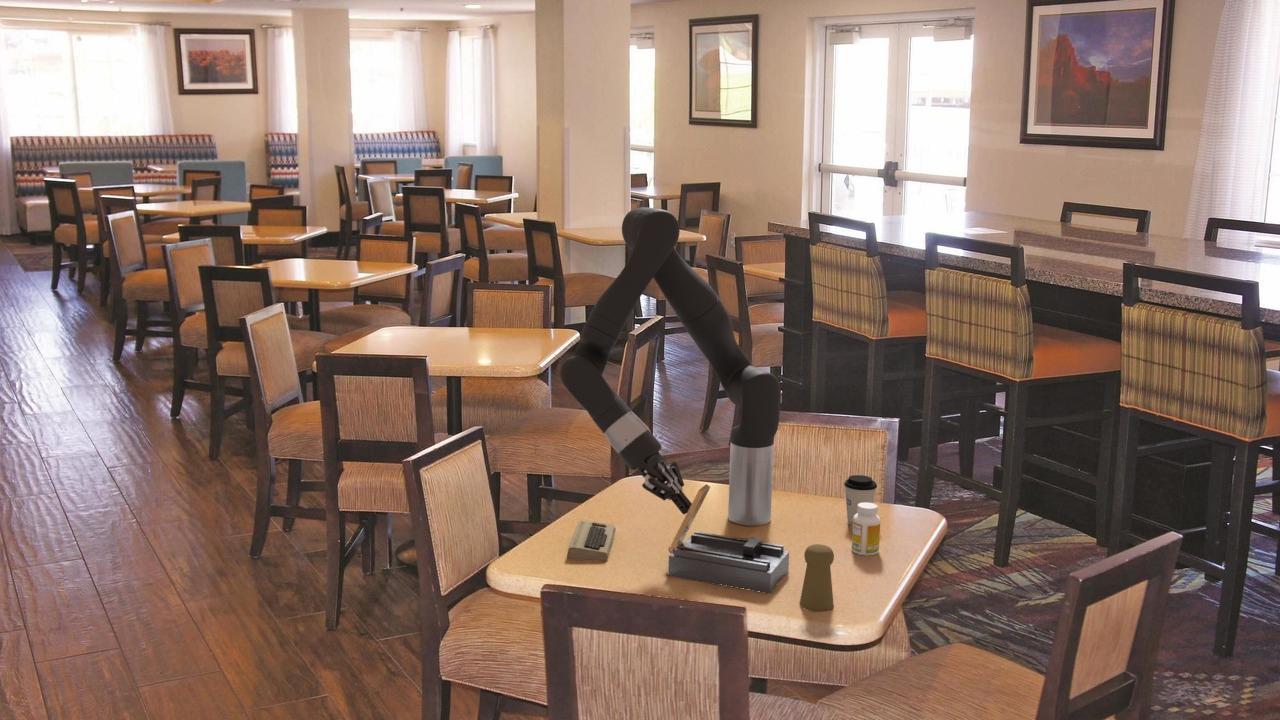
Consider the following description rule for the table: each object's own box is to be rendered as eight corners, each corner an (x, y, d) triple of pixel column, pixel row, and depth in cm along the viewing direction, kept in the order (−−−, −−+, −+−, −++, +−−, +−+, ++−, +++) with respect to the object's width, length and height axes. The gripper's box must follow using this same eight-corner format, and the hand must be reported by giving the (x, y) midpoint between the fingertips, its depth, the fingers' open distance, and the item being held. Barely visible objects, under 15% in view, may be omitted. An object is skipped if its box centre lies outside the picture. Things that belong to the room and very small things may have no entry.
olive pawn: (796, 598, 212) (799, 540, 210) (829, 597, 213) (832, 540, 211) (803, 612, 206) (806, 553, 204) (837, 611, 207) (840, 552, 205)
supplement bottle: (880, 548, 238) (883, 502, 236) (876, 557, 233) (879, 511, 231) (853, 545, 239) (856, 499, 237) (849, 554, 234) (852, 507, 232)
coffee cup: (878, 520, 254) (881, 476, 252) (870, 530, 248) (873, 485, 246) (846, 515, 257) (849, 471, 255) (838, 525, 251) (840, 480, 249)
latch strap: (680, 548, 229) (674, 544, 229) (711, 487, 224) (705, 483, 224) (673, 554, 225) (667, 551, 225) (704, 493, 220) (698, 489, 220)
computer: (607, 563, 229) (608, 547, 228) (566, 561, 229) (566, 545, 228) (615, 535, 244) (616, 520, 243) (577, 533, 244) (577, 518, 244)
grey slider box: (690, 554, 233) (691, 521, 231) (788, 571, 225) (789, 536, 223) (668, 575, 222) (669, 540, 220) (769, 593, 214) (771, 557, 213)
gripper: (631, 437, 219) (689, 510, 217) (658, 421, 231) (714, 490, 229) (605, 460, 222) (662, 532, 220) (633, 443, 234) (688, 511, 232)
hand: (689, 510), depth 224 cm, fingers closed
